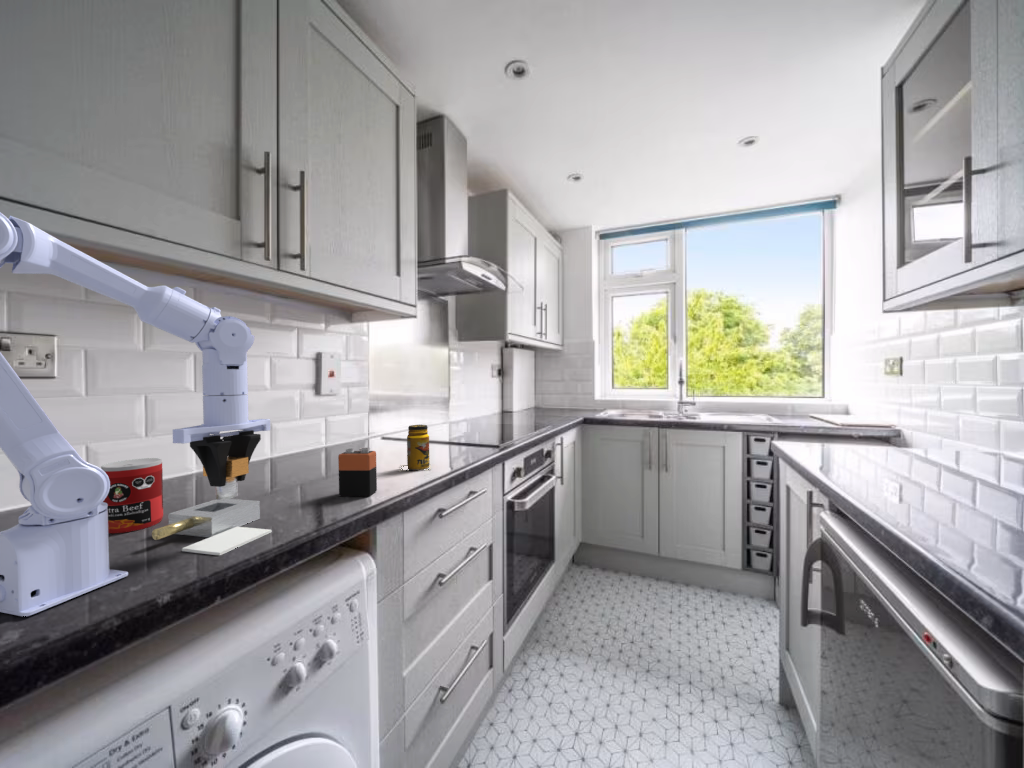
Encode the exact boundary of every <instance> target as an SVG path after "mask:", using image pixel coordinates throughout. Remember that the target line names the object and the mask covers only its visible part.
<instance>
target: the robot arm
mask: <svg viewBox="0 0 1024 768" xmlns="http://www.w3.org/2000/svg"><path fill="white" fill-rule="evenodd" d="M5 264H12V267H11V274H14V275H15V274H18V275H19V274H22V275H25V274H26V275H33V274H34V275H53V276H56V277H59V278H61V279H63V280H66V281H68V282H70V283H73V284H75V285H77V286H80V287H82V288H84V289H85V288H86V289H88V290H90V291H93V292H95V293H97V294H100V295H102V296H104V297H107V298H110V299H112V300H115V301H117V302H119V303H122V304H124V305H126V306H129V307H132V308H133V309H134V311H135V313H136V315H137V317H138V318H139V320H140V321H141V322H143V323H144V324H147V325H149V326H152V327H155V328H157V329H159V330H161V331H163V332H166V333H168V334H170V335H173V336H175V337H177V338H180V339H182V340H185V341H186V342H189V343H191V344H193V343H194V344H195V345H196V347H197V348H198V349H199V350H200V351H201V354H202V357H201V359H202V366H201V372H202V373H201V374H202V375H201V376H202V378H201V379H202V415H203V416H202V417H203V418H202V419H203V422H202V423H201V424H200V425H193V426H188V427H182V428H175V429H172V443H173V444H182V445H183V444H189V447H190V448H191V450H192V451H193V452H194V454H195V455H196V456H197V458H198V459H199V461H200V463H201V464H202V468H203V467H204V469H205V471H206V474H207V476H206V477H207V480H208V482H209V486H210V487H222V486H225V483H226V463H227V457H248V466H249V465H250V461H251V458H252V456H253V454H254V451H255V450H256V447H257V446H258V444H259V443H260V441H261V439H262V438H261V434H260V433H257V432H268V431H271V419H270V418H259V419H249V385H248V384H249V378H248V376H249V375H248V374H249V373H248V351H249V350H250V349H251V348H252V347H253V345H254V341H255V335H253V334H252V331H251V328H250V327H249V326H247V325H248V324H247V323H246V322H245V321H243V320H242V319H241V318H238V317H236V316H231V315H229V316H227V315H225V316H222V314H221V309H220V308H218V307H216V306H214V307H209V306H207V305H205V304H203V303H200V302H199V301H197V300H195V299H193V298H191V297H189V296H188V295H186V293H187V291H186V290H185V289H183V288H181V287H179V286H175V287H173V288H171V287H169V286H167V285H157V286H156V285H155V286H147V285H145V284H143V283H141V282H140V281H137V280H135V279H134V278H131V277H129V276H128V275H127V274H124V273H123V272H121V271H118V270H117V269H115V268H114V267H111V266H110V265H107V264H105V263H104V262H102V261H100V260H97V259H96V258H94V257H93V256H90V255H88V254H87V253H85V252H83V251H81V250H79V249H77V248H75V247H73V246H71V245H70V244H68V243H66V242H64V241H62V240H60V239H58V238H56V237H55V236H53V235H52V234H49V233H47V232H46V231H44V230H42V229H40V228H39V227H37V226H35V225H34V224H32V223H30V222H28V221H25V220H23V219H21V218H18V217H15V216H13V215H9V217H7V216H6V215H4V214H3V213H2V212H1V211H0V269H1V268H3V266H5ZM21 379H22V378H20V377H19V375H18V373H17V372H16V371H15V369H13V367H12V366H11V364H10V362H8V360H7V359H6V357H5V355H3V354H2V351H0V450H1V451H2V452H3V454H4V455H5V456H6V458H7V459H8V460H9V461H10V463H11V464H12V465H13V467H14V468H15V469H16V471H17V473H18V475H19V484H18V485H19V488H18V489H19V492H20V494H21V495H22V497H23V498H24V499H25V500H26V501H28V502H29V503H30V504H31V505H30V506H28V507H27V509H25V510H24V512H23V514H20V515H19V516H18V524H15V525H14V526H12V527H10V528H7V529H5V530H1V531H0V613H4V614H9V615H14V616H18V617H23V616H24V618H25V616H26V617H30V616H32V615H35V614H37V613H40V612H42V611H45V610H47V609H49V608H52V607H55V606H57V605H60V604H62V603H64V602H68V601H70V600H71V599H74V598H76V597H79V596H82V595H83V594H86V593H89V592H92V591H93V590H96V589H98V588H101V587H104V586H106V585H108V584H111V583H114V582H116V581H118V580H121V579H123V578H125V577H128V576H129V572H128V571H126V570H119V569H111V568H110V550H109V549H110V548H109V545H110V544H109V533H108V509H107V507H108V504H107V503H105V502H103V501H104V500H105V498H106V497H107V495H108V493H109V490H110V480H109V477H108V475H107V474H106V473H105V472H104V471H103V470H102V469H101V467H99V466H97V465H95V464H92V463H90V462H87V460H84V458H82V457H81V455H79V453H78V452H77V450H76V449H75V448H74V447H73V445H71V443H69V441H68V440H67V439H66V438H65V437H64V436H63V435H62V433H61V432H60V431H59V430H58V429H57V427H56V426H55V424H54V423H53V421H52V420H51V419H50V418H49V416H48V415H47V414H46V411H45V410H43V408H42V406H41V405H40V404H39V402H38V401H37V400H36V398H35V397H34V396H33V394H32V393H31V391H30V390H29V389H28V387H27V386H26V384H24V382H23V381H22V380H21ZM220 432H221V433H220ZM246 476H247V474H243V475H239V476H237V482H243V481H246V480H245V479H246Z"/></svg>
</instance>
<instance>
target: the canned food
mask: <svg viewBox="0 0 1024 768" xmlns="http://www.w3.org/2000/svg"><path fill="white" fill-rule="evenodd" d="M100 468H101V469H102V470H103V471H104V472H105V473H106V474H107V475H108V477H109V480H110V490H109V493H108V495H107V497H106V498H105V500H104V501H103V502H105V503H107V504H108V507H107V509H108V534H124V533H130V532H135V531H140V530H145V529H147V528H150V527H153V526H155V525H158V524H159V523H161V521H162V520H163V517H164V489H163V488H164V486H163V484H164V483H163V481H164V480H163V475H164V474H163V461H162V458H158V457H157V458H156V457H151V458H149V457H147V458H134V459H128V460H127V459H126V460H121V461H119V460H118V461H114V462H108V463H106V464H102V465H101V466H100Z"/></svg>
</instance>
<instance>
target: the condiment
mask: <svg viewBox="0 0 1024 768" xmlns="http://www.w3.org/2000/svg"><path fill="white" fill-rule="evenodd" d="M428 428H429V427H428V425H426V424H412V425H411V424H410V425H409V426H408V430H407V433H408V434H407V437H406V462H407V465H405V464H404V465H403V464H402V465H401V464H400V466H401V467H402V466H403V467H404V466H408V469H409V470H424V469H427V470H426V471H430V470H432V466H431V463H430V435H429V434H428V432H429V430H428ZM400 466H399V467H400ZM429 467H431V468H430V469H429V470H428V468H429ZM401 469H402V468H401ZM401 469H400V468H399V470H400V471H399V470H398V472H399V473H401V472H410V471H409V470H407V471H406V470H403V469H402V470H403V471H402V470H401Z"/></svg>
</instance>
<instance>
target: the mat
mask: <svg viewBox="0 0 1024 768" xmlns="http://www.w3.org/2000/svg"><path fill="white" fill-rule="evenodd" d="M272 531H273V530H272V529H267V528H266V529H265V528H258V527H257V528H256V527H248V526H247V527H246V526H240V527H235V528H232V529H230V530H227V531H225V532H222V533H220V534H217V535H214V536H212V537H206V538H205V539H202V540H200V541H197V542H195V543H191V544H189V545H187V546H184V547H182V548H181V552H187V553H195V554H203V555H204V554H205V555H213V556H222V555H224V554H226V553H229V552H230V551H233V550H236V549H238V548H240V547H242V546H244V545H246V544H249V543H251V542H253V541H255V540H258V539H260V538H262V537H264V536H267V535H268V534H271V533H272ZM237 547H238V548H237ZM235 548H236V549H235Z"/></svg>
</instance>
